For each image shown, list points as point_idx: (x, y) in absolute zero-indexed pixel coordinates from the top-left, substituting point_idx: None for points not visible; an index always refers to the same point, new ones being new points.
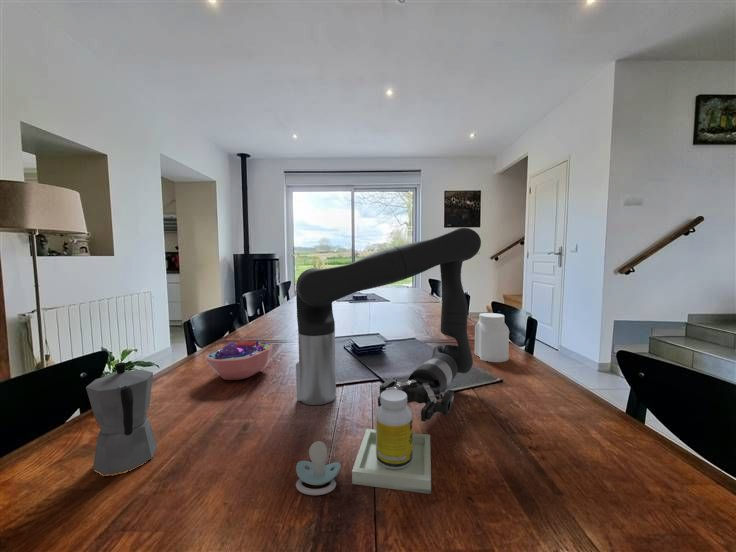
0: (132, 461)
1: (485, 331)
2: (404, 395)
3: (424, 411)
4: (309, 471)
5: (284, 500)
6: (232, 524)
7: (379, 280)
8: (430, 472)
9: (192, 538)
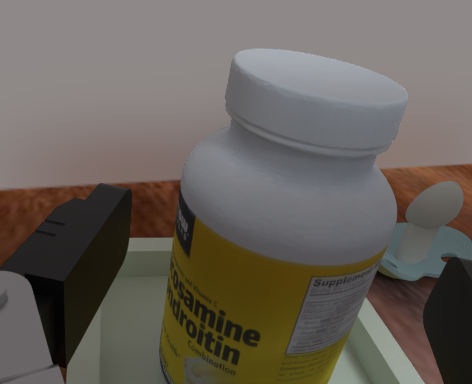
0: None
1: None
2: (253, 63)
3: (107, 184)
4: (433, 255)
5: (404, 218)
6: (422, 185)
7: None
8: None
9: (439, 170)
